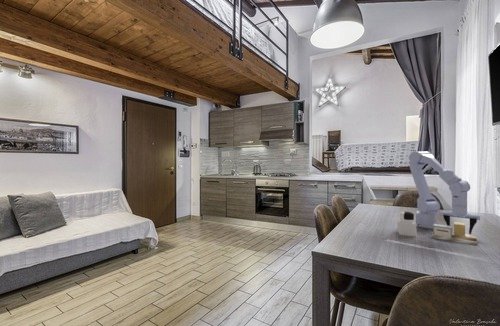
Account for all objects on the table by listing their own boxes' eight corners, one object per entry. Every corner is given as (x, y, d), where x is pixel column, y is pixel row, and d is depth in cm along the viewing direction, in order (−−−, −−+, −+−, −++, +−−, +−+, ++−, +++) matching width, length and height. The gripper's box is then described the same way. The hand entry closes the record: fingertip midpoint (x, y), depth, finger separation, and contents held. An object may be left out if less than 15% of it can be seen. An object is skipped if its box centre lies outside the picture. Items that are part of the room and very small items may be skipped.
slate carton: (433, 236, 113) (433, 225, 113) (433, 234, 116) (433, 223, 116) (452, 239, 109) (452, 228, 109) (452, 237, 112) (452, 226, 112)
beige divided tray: (431, 239, 112) (431, 234, 112) (434, 231, 126) (434, 227, 126) (477, 247, 102) (477, 242, 102) (475, 237, 115) (475, 233, 115)
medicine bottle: (413, 234, 120) (413, 211, 120) (416, 238, 114) (416, 214, 114) (397, 232, 123) (397, 210, 123) (399, 236, 117) (399, 212, 117)
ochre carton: (465, 237, 112) (465, 226, 112) (453, 235, 115) (453, 224, 115) (465, 234, 117) (465, 223, 117) (454, 232, 120) (454, 221, 120)
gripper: (440, 204, 118) (440, 231, 118) (480, 208, 108) (480, 237, 108) (441, 202, 123) (441, 228, 123) (479, 205, 113) (479, 233, 113)
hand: (459, 232), depth 116 cm, fingers open, 7 cm apart
